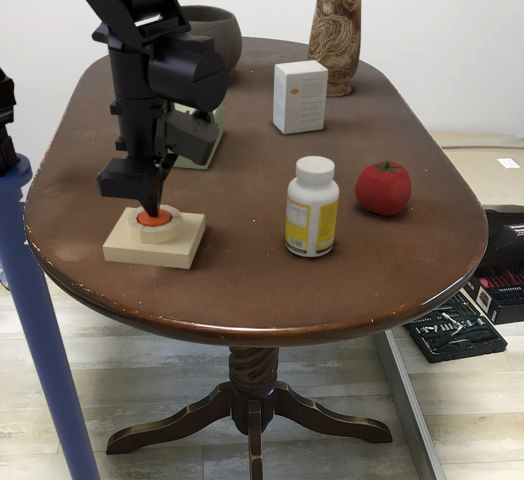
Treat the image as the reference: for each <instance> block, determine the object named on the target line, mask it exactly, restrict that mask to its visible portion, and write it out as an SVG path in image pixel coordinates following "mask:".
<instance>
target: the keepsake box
mask: <svg viewBox="0 0 524 480" xmlns="http://www.w3.org/2000/svg"><path fill="white" fill-rule="evenodd" d="M223 115H224V113H223V104H222V105H221V107H220V109H219V111H218V113H217V115H216V117H215V119H214V120H215V123H218V124H219V125H218V128H219V133H218V136H217V139H216V142H215V145H214V148H213V151H212V153H211V155H210V157H209V160H208V162H207V164H206V165H204V166H200V165H197V164H194V163H193V161H191V160H189V159H187V158H184V157H182V156H180V155H179V157H178V159H177V160H176V162H175V164H174V166H173V167H172V168H182V169H183V168H185V169H196V170H205V171H207V170H208V167H209V165H210V163H211V161H212V158H213V157H214V154H215V152H216V150H217V148H218V146H219V144H220V141H221V139H222V136H223V135H224V121H223ZM215 123H214V125H215ZM168 153H173V152H171V151H170V150H169V149H168Z"/></svg>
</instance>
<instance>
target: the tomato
mask: <svg viewBox="0 0 524 480" xmlns="http://www.w3.org/2000/svg"><path fill="white" fill-rule="evenodd" d="M354 193H355V197H356V200H357V202H358V204H359V205H360V206H361V208H363V209H364V210H366V211H369V212H373V213H375V214H378V215H381V216H384V217H389V216H392V215H396V214H397V215H398V214H400V212H401V211H402V210H404V209H405V207H406V206H407V205H408V203H409V202H410V198H411V197H412V180H411V177H410V174H409V172H408V171H407V170H406V168H405V167H404V166H403V165H401V164H399V163H396V162H394V161H390V160H385V161H382V162H378V163H372V164H370V165H367V166H366V167H365V168H364V169H362V171H361V172H360V173H359V175H358V177H357V179H356V183H355V186H354Z"/></svg>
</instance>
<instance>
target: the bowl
mask: <svg viewBox="0 0 524 480" xmlns="http://www.w3.org/2000/svg"><path fill="white" fill-rule="evenodd" d="M180 6H181V8H182V9H183V11H184V12H185V13H184V14H185V16H186V17H187V19H188V21H189V23H190V25H191V31H190V32H187V33H186V34H190V35H194V36H208V37H212V38H214V40H215V51H216V52H218V53H220V54H221V56H222V57H223V58H224V61H225V63H226V67H227V69H228V70H229V73H231V71H233V70H234V68H235V67H236V66H237V64H238V63H239V61H240V59H241V56H242V51H243V36H242V31H241V28H240V24H239V22H238V20H237V17H236V16H235V14H234V13H233V12H231V11H229V10H226V9H225V8H221V7H218V6H211V5H203V4H193V5H192V4H189V5H180ZM159 19H162V17H161V16H160V15H158V19H157V20H159Z"/></svg>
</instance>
